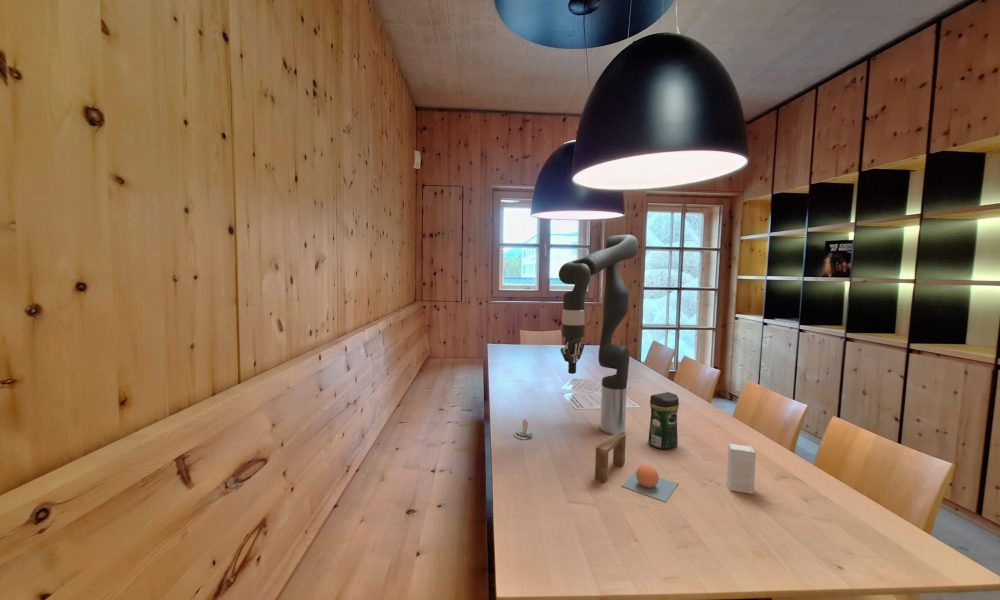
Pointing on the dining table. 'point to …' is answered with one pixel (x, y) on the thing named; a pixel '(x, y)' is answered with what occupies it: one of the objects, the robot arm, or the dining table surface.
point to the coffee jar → (663, 420)
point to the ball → (647, 476)
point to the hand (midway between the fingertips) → (572, 373)
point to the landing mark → (658, 491)
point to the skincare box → (741, 468)
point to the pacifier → (524, 428)
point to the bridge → (602, 455)
